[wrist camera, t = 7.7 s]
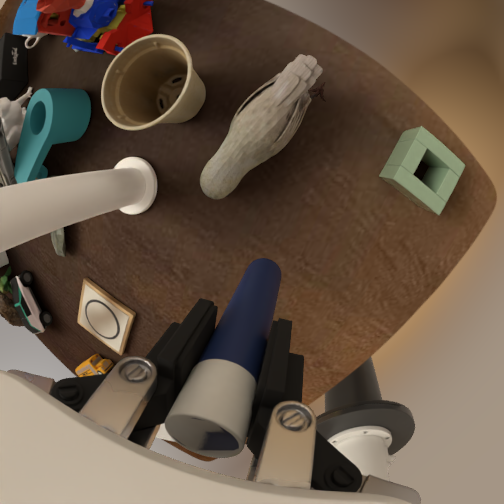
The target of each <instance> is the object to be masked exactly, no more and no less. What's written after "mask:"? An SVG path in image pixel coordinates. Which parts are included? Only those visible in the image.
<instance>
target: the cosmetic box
mask: <svg viewBox="0 0 504 504" xmlns="http://www.w3.org/2000/svg"><path fill="white" fill-rule="evenodd" d="M7 264H9V261H8V258H7V254H6V251H3V252H1V253H0V267H2V266H4V265H7Z"/></svg>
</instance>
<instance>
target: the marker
mask: <svg viewBox="0 0 504 504" xmlns="http://www.w3.org/2000/svg"><path fill="white" fill-rule="evenodd" d="M280 281H281V270H280V268H279V266H278V265H277V264H276V263H275V262H273V261H272V260H269V259H265V258H261V259H257V260H255V261H253V262H252V263H251V264H250V265H249V266H248V268H247V270H246V272H245V274H244V276H243V278H242V280H241V282H240V283H239V285H238V287H237V289H236V291H235V293H234V295H233V297H232V299H231V300H230V302H229V304H228V306H227V308H226V310H225V312H224V314H223V316H222V318H221V319H220V321H219V323H218V325H217V327H216V329H215V331H214V333H213V335H212V336H211V338H210V340H209V342H208V344H207V346H206V348H205V350H204V352H203V353H202V355H201V357H200V359H199V361H198V363H197V365H195V366H194V368H193V369H192V371H191V373H190V375H189V376H188V378H187V380H186V382H185V384H184V386H183V388H182V389H181V391H180V393H179V395H178V397H177V399H176V401H175V402H174V404H173V406H172V408H171V410H170V412H169V414H168V415H167V417H166V419H165V429H166V431H167V432H168V434H169V435H170V436H171V437H172V438H173V439H174V440H175V441H176V442H177V443H179V444H180V445H181V446H183V447H185V448H187V449H189V450H191V451H193V452H195V453H198V454H201V455H205V456H209V457H215V458H228V457H232V456H236V455H238V454H239V453H240V452H241V451H242V450H243V448H244V444H245V441H246V437H247V433H248V429H249V425H250V421H251V417H252V405H253V401H254V397H255V393H256V389H257V384H258V380H259V376H260V371H261V367H262V363H263V359H264V354H265V350H266V345H267V341H268V338H269V334H270V329H271V324H272V320H273V315H274V310H275V306H276V301H277V296H278V291H279V286H280Z"/></svg>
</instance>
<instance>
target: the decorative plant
mask: <svg viewBox="0 0 504 504" xmlns="http://www.w3.org/2000/svg"><path fill="white" fill-rule="evenodd" d="M10 274H11V267H9V268H8V270H7V272H6V273H5V275H4V276H3V277H2V278H1V280H0V291H1V292H3V293H4V294H7V293H8V291H9V292H10V293H12V288H11V283H10V281H8V279H7V276H9V275H10Z"/></svg>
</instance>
